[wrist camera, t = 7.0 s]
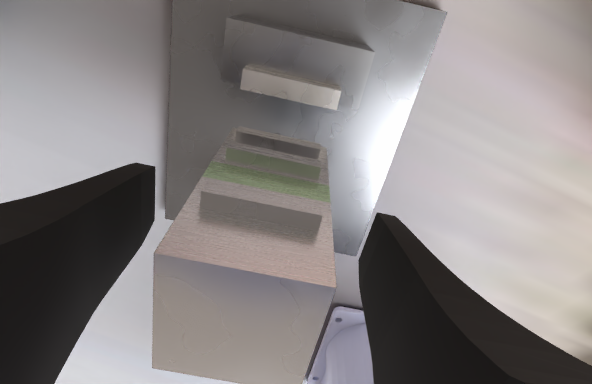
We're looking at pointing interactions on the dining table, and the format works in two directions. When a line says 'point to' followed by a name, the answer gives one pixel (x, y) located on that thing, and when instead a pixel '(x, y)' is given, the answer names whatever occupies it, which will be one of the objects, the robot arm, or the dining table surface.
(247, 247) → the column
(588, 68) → the dining table surface
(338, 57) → the stand
